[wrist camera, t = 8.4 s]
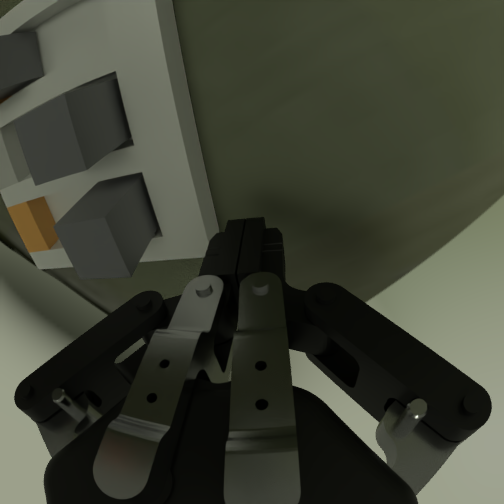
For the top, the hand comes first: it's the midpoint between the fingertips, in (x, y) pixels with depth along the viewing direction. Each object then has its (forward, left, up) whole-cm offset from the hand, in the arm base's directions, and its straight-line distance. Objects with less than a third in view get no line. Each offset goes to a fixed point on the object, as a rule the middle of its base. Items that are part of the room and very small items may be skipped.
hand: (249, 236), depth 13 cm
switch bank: (-11, +6, -7) cm, 15 cm away
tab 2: (-8, +6, -6) cm, 12 cm away
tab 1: (-14, +12, -6) cm, 20 cm away
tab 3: (-8, 0, -6) cm, 10 cm away
